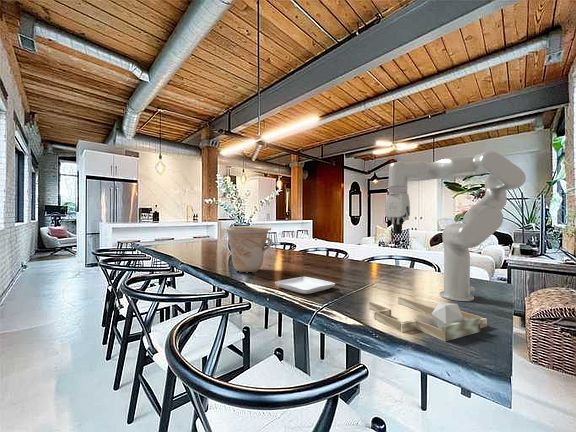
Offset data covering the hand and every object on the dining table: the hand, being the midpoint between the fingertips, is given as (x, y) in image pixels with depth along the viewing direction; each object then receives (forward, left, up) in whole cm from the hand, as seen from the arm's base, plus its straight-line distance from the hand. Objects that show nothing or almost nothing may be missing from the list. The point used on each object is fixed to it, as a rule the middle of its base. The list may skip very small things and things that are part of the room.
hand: (397, 233), depth 123 cm
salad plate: (+30, -28, -28) cm, 50 cm away
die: (+14, +31, -26) cm, 43 cm away
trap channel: (+15, +23, -27) cm, 39 cm away
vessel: (+42, -79, -27) cm, 94 cm away
